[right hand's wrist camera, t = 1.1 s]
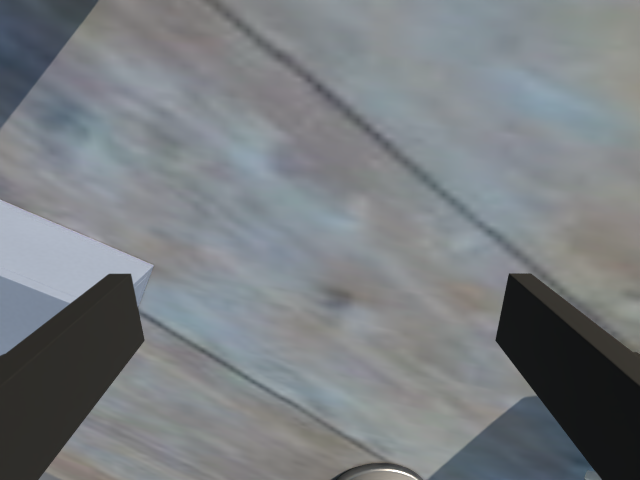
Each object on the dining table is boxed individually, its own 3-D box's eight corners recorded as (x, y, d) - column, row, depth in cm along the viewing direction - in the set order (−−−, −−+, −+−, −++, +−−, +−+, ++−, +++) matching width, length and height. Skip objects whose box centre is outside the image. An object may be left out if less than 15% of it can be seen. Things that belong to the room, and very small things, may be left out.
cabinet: (-47, 263, 40) (-166, 313, 30) (-34, 184, 37) (-162, 211, 27) (128, 332, 43) (72, 397, 34) (154, 264, 40) (100, 315, 30)
